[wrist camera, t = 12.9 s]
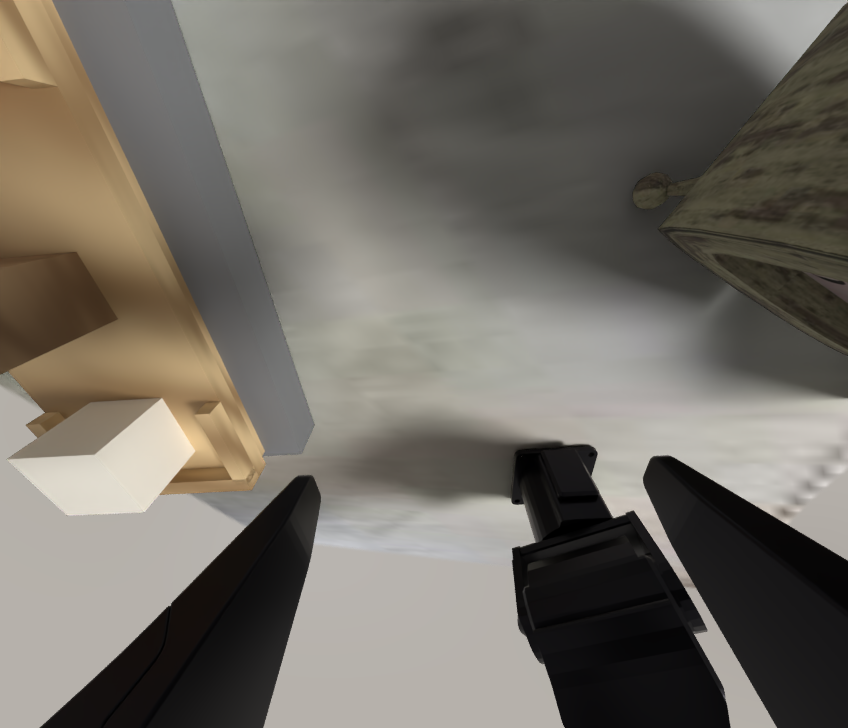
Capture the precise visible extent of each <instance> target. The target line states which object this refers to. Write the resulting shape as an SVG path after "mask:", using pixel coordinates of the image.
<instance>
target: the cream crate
mask: <svg viewBox="0 0 848 728" xmlns="http://www.w3.org/2000/svg"><path fill="white" fill-rule="evenodd" d="M194 452H195V450H194V448H193V446H192V445H191V443H190V442H189V440H188V438H187V437H186V435H185V434H184V432H183V431H182V429H181V427H180V426H179V424H178V423H177V421H176V419H175V418H174V416H173V415H172V413H171V411H170V410H169V408H168V407H167V405H166V403H165V402H164V400H163V399H162V398H151V399H134V400H118V401H102V402H90V403H89V404H87V405H86V406H84V407H83V408H81V409H80V410H78V411H77V412H76V413H74V414H73V415H71V416H70V417H68V418H67V419H65V420H64V421H62V422H61V423H59V424H58V425H56V426H55V427H53V428H52V429H50V430H49V431H48V432H46V433H45V434H43V435H42V436H40V437H39V438H37V439H36V440H34V441H33V442H31V443H30V444H28V445H27V446H25V447H24V448H22V449H21V450H19V451H18V452H17V453H15V454H14V455H12V456H11V457H9V458H8V459H7V461H9V462H10V463H11V464H12V465H13V466H14V467H15V468H16V469H17V470H18V471H19V472H21V474H23V475H24V476H25V477H26V478H27V479H28V480H29V481H30V482H31V483H32V484H33V485H35V486H36V487H37V488H38V489H39V490H40V491H41V492H42V493H43V494H44V495H45V496H46V497H47V498H48V499H49V500H50V501H52V502H53V503H54V504H55V505H56V506H57V507H58V508H59V509H60V510H61V511H62V512H63V513H64V514H66V515H67V516H75V515H76V516H77V515H97V514H98V515H99V514H121V513H143V512H145V511H146V510H147V509H148V508H149V506H150V505H151V504H152V503H153V502H154V500H155V499H156V498H157V497H158V496H159V494H160V493H161V492H162V491H163V490H164V488H165V487H166V486H167V485H168V484H169V482H170V481H171V480H172V479H173V478H174V476H175V475H176V474H177V473H178V472H179V470H180V469H181V468H182V467H183V466H184V464H185V463H186V462H187V461H188V460H189V458H190V457H191V456H192V455H193V454H194Z"/></svg>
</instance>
